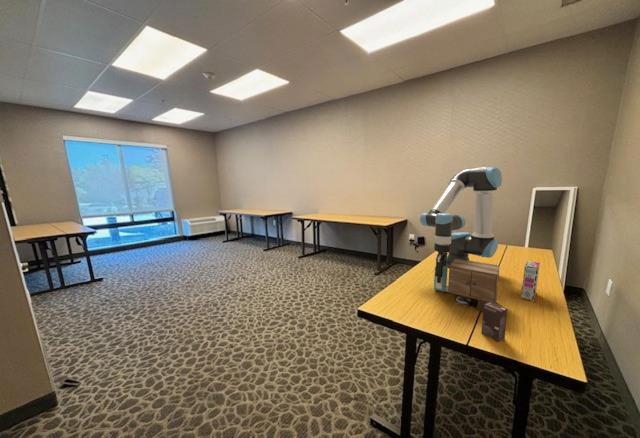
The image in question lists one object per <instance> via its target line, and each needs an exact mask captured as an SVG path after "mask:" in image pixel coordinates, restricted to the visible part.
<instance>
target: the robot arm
mask: <svg viewBox="0 0 640 438" xmlns="http://www.w3.org/2000/svg"><path fill="white" fill-rule="evenodd" d="M502 182H503V176H502V172H501V170H500V169H499V168H498V167H497V166H483V167H482V166H481V167H469V168H465V169H463V170H460V171H459V172H457V173H455V174H454V176H452V177H451V178H450V180H449V181H448V184H447V185H448V186H447V187H446V188H445V189H444V191H443V192H442V193H441V196H440V197H438V199H437V200H436V202H435V203H434V205H433V206H432V208H430V210H429V211H428V212H423V213H421V214H420V218H419V222H420V224H421V225H422V226H424V227H425V226H426V227H429V228H430V227H432V228H434V229H435V230H434V236H433V238H434V247H433V248H434V249H433V250H434V251H435V252H437V254H436V258H435V267H436V274H435V273H434V275H435V276H436V288H438V289H442V278H443V277H442V271H443V266H448V269H449V266H450V265H451V264H452V262H453V261H454V260H455V259H462V260H468V261H471V260H470V258H469V255H472V256H478V257H482V258H489V259H490V258H492V257H493V256H494V255H495V254H496V252H497V250H498V247H499V241H498V239H495V235H494V234H493V233H492V228H493V211H494V209H493V208H494V207H493V206H494V193H495V192H497V190H498V188H500V187H501V186H502ZM467 188H473V189H472V191H473V192H474V193H475V205H474V206H475V207H474V208H475V210H474V230H473V232H472V233H470V232H467V231H464V232H463V231H461V232H460V231H459V232H458V231H457V230H460V229H462V228H464V227H465V225H466V220H465V218H464V217H463V216H462V215H459V214H452V213H449V212H448V213H446V212H447V211H448V210H449V209H450V207H451V205H453V202H454V201H455V200H456V198H457V197H458V195H459V194H460V193H461V192H463V191H464V190H465V189H467ZM452 231H457V232H452Z"/></svg>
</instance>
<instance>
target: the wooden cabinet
mask: <svg viewBox="0 0 640 438" xmlns="http://www.w3.org/2000/svg"><path fill="white" fill-rule="evenodd" d="M499 276H500V265H499V264H493V263H486V262H479V261H475V260H474V261H473V260H470V261H468V260H462V259H455V260H454V261H453V262H452V264H451V265H450V266H449V268H448V281H447V284H448V285H447V286H448V292H447V293H448V294H454V295H457V296H464V297H467V298H469V299H473V300H477V307H476V308H477V309H476V311H479V312H482V313H483V309H484V304H486V303H488V302H492V303H495V304H497V297H498V286H499Z"/></svg>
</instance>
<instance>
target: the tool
mask: <svg viewBox="0 0 640 438" xmlns="http://www.w3.org/2000/svg"><path fill="white" fill-rule="evenodd" d="M448 272H449V268H448V266H443V271H442V277H443V278H442V289H438V288H436V276H435V274H436V266H434V278H433V281H434V282H433V290H435V291H441V292H447V293H448V285H447V284H448Z"/></svg>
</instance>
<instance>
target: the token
mask: <svg viewBox="0 0 640 438" xmlns="http://www.w3.org/2000/svg"><path fill="white" fill-rule="evenodd" d="M471 299H472V298H469V297H464V296H460V295H457V296H456V297H455V303H456V304H458V305H460V306H463V307H470V306H471V305H472V300H471Z"/></svg>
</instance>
